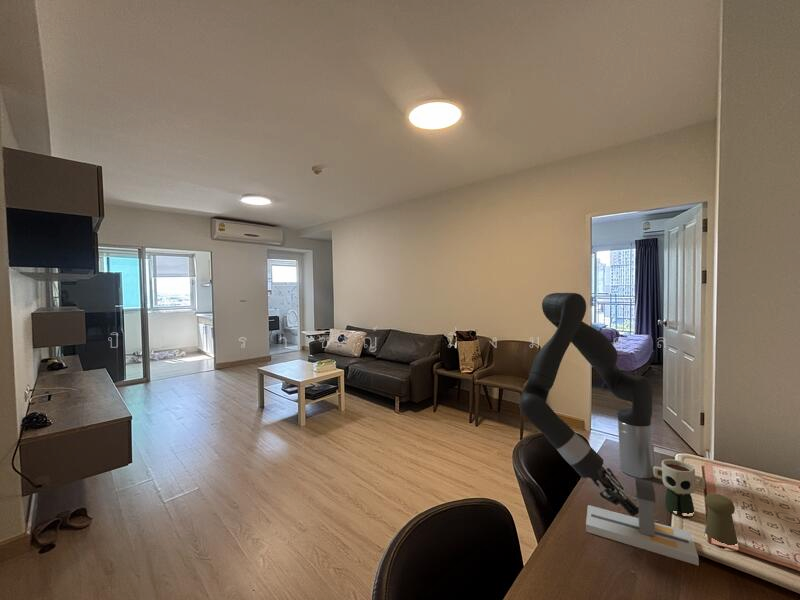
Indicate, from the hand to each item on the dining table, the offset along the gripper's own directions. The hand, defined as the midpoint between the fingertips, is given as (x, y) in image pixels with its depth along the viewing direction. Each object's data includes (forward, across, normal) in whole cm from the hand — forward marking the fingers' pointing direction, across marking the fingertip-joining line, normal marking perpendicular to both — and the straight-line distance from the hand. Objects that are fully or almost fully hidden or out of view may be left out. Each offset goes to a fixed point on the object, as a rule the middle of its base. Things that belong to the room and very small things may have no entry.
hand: (635, 512), depth 83 cm
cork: (+16, +7, -8) cm, 20 cm away
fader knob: (+4, 0, +1) cm, 4 cm away
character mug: (+12, +16, -3) cm, 21 cm away
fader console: (+4, 0, +4) cm, 6 cm away
